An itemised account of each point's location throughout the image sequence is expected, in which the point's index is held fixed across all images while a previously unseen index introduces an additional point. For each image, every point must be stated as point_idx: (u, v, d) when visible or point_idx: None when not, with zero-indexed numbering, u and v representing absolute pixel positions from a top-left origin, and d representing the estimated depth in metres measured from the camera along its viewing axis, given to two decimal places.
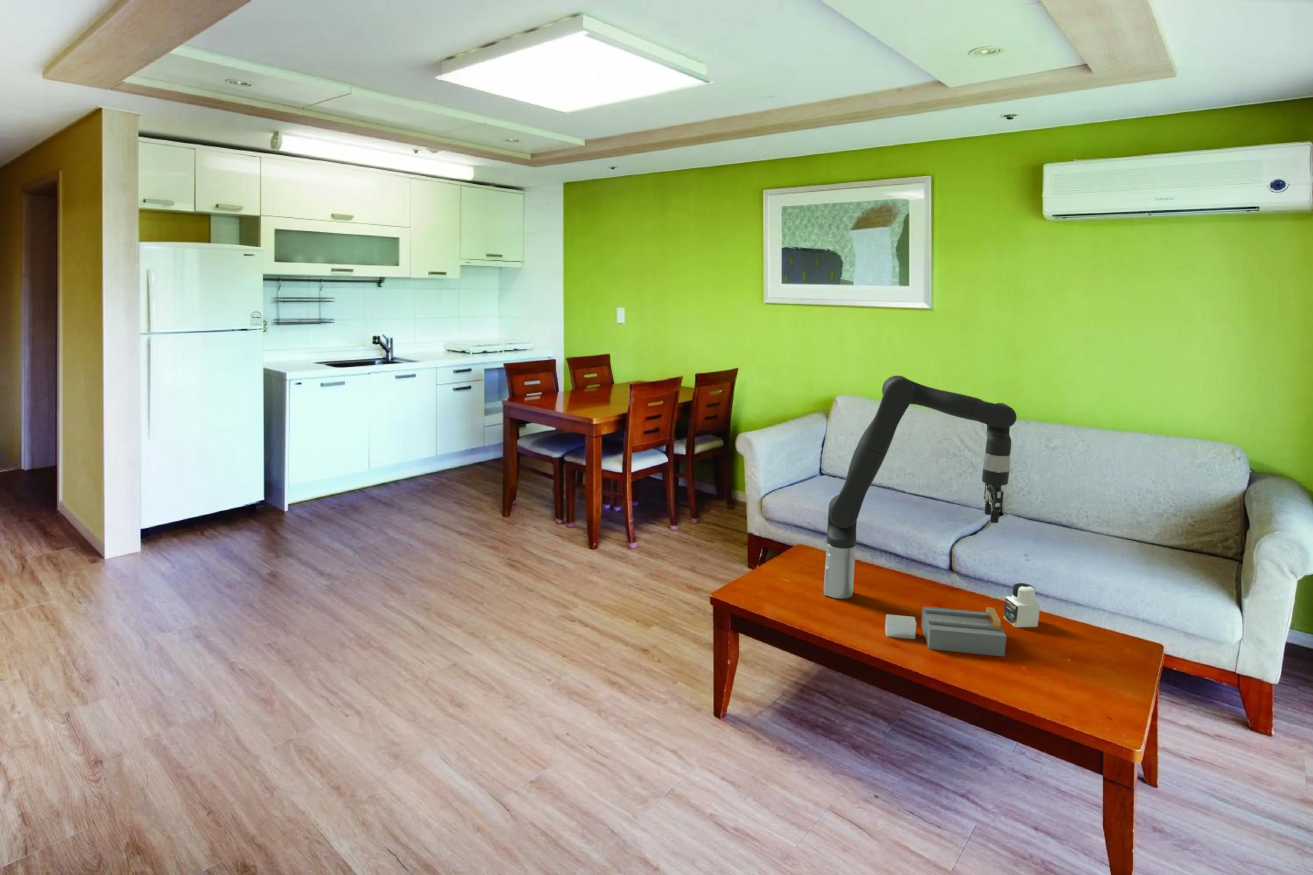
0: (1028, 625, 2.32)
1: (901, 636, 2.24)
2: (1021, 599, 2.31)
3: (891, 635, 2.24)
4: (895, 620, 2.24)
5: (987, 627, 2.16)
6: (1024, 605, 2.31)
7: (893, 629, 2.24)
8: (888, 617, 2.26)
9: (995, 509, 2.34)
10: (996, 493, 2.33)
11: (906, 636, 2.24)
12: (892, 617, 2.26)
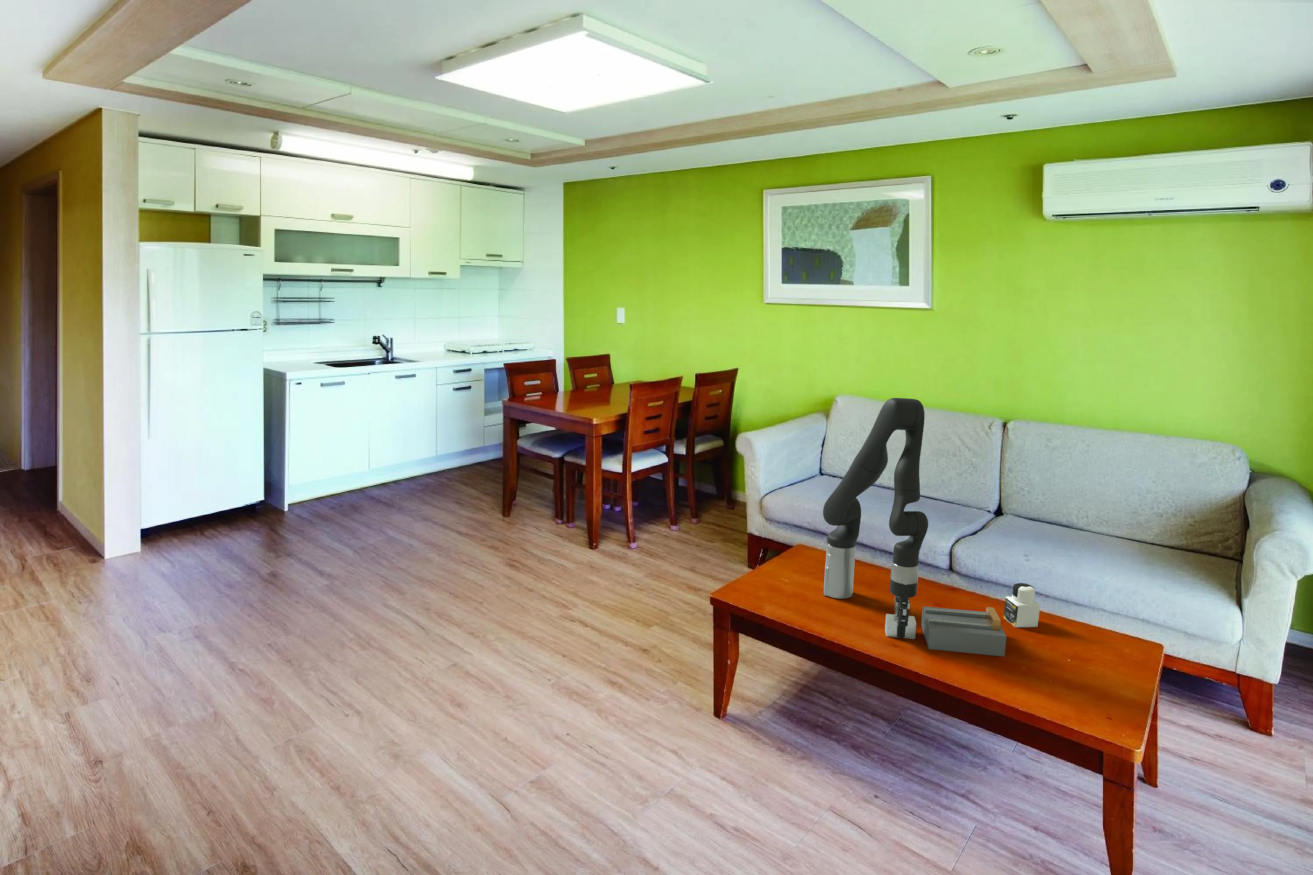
0: (1028, 625, 2.32)
1: None
2: (1021, 599, 2.31)
3: (891, 635, 2.24)
4: (895, 619, 2.24)
5: (987, 627, 2.16)
6: (1024, 605, 2.31)
7: (893, 629, 2.24)
8: (888, 617, 2.26)
9: (900, 624, 2.20)
10: (901, 611, 2.18)
11: (906, 636, 2.24)
12: (892, 617, 2.26)
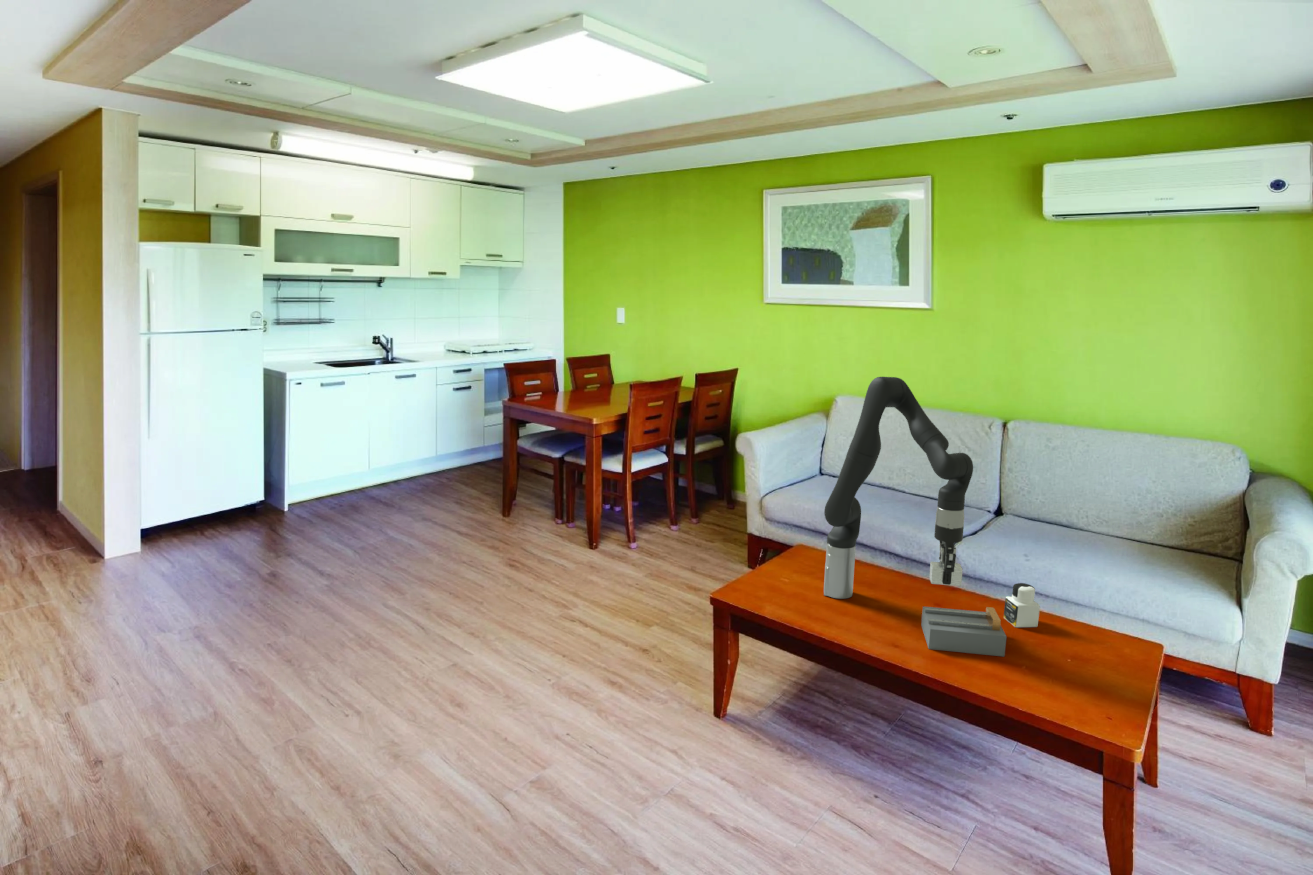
0: (1028, 625, 2.32)
1: None
2: (1021, 599, 2.31)
3: (936, 582, 2.18)
4: (940, 566, 2.18)
5: (987, 627, 2.16)
6: (1024, 605, 2.31)
7: (938, 576, 2.18)
8: (933, 564, 2.20)
9: (946, 570, 2.14)
10: (948, 556, 2.12)
11: (952, 583, 2.18)
12: (937, 564, 2.20)
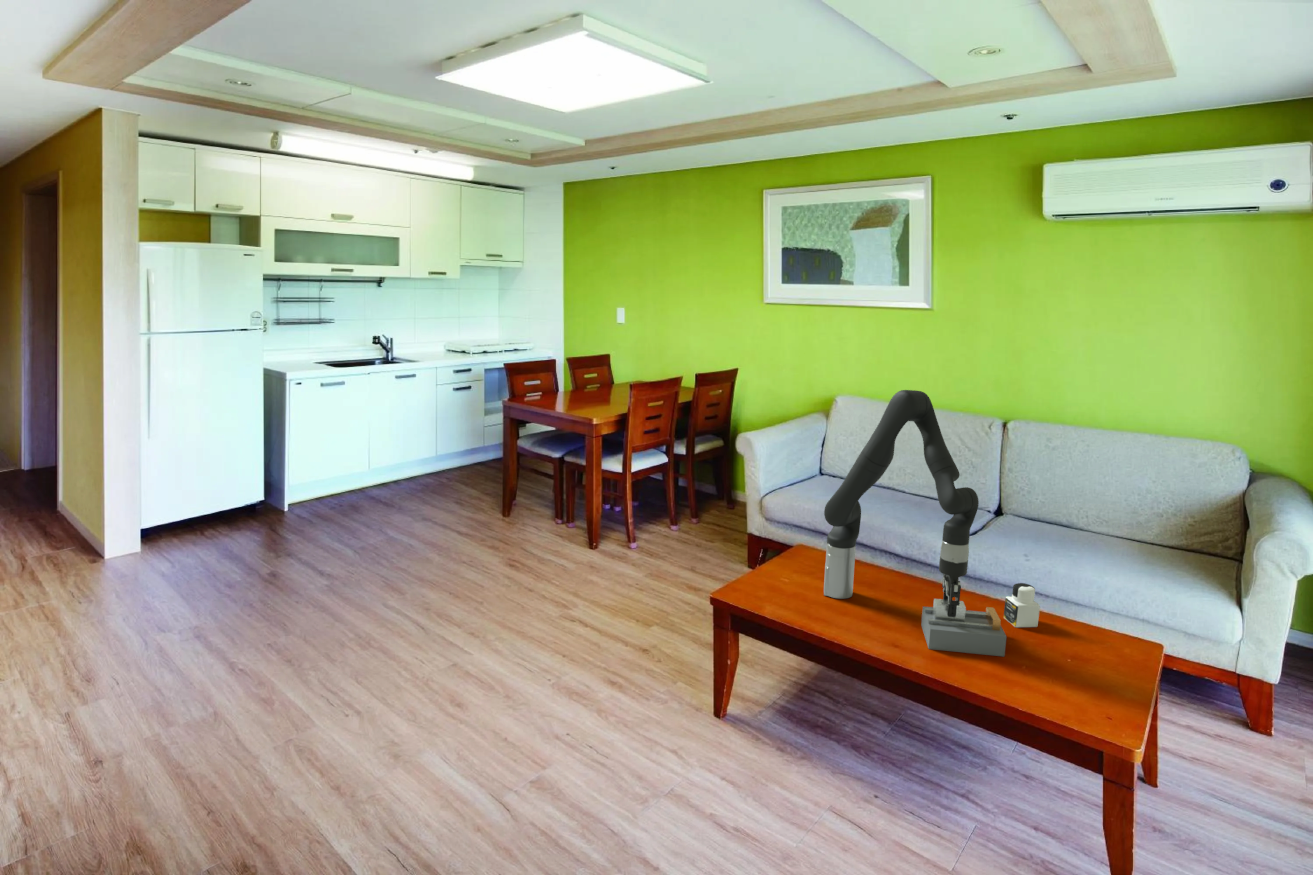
0: (1028, 625, 2.32)
1: (950, 620, 2.20)
2: (1021, 599, 2.31)
3: (940, 619, 2.21)
4: (944, 604, 2.20)
5: (987, 627, 2.16)
6: (1024, 605, 2.31)
7: (942, 614, 2.20)
8: (936, 601, 2.22)
9: (952, 603, 2.15)
10: (953, 587, 2.14)
11: (955, 620, 2.20)
12: (941, 601, 2.22)
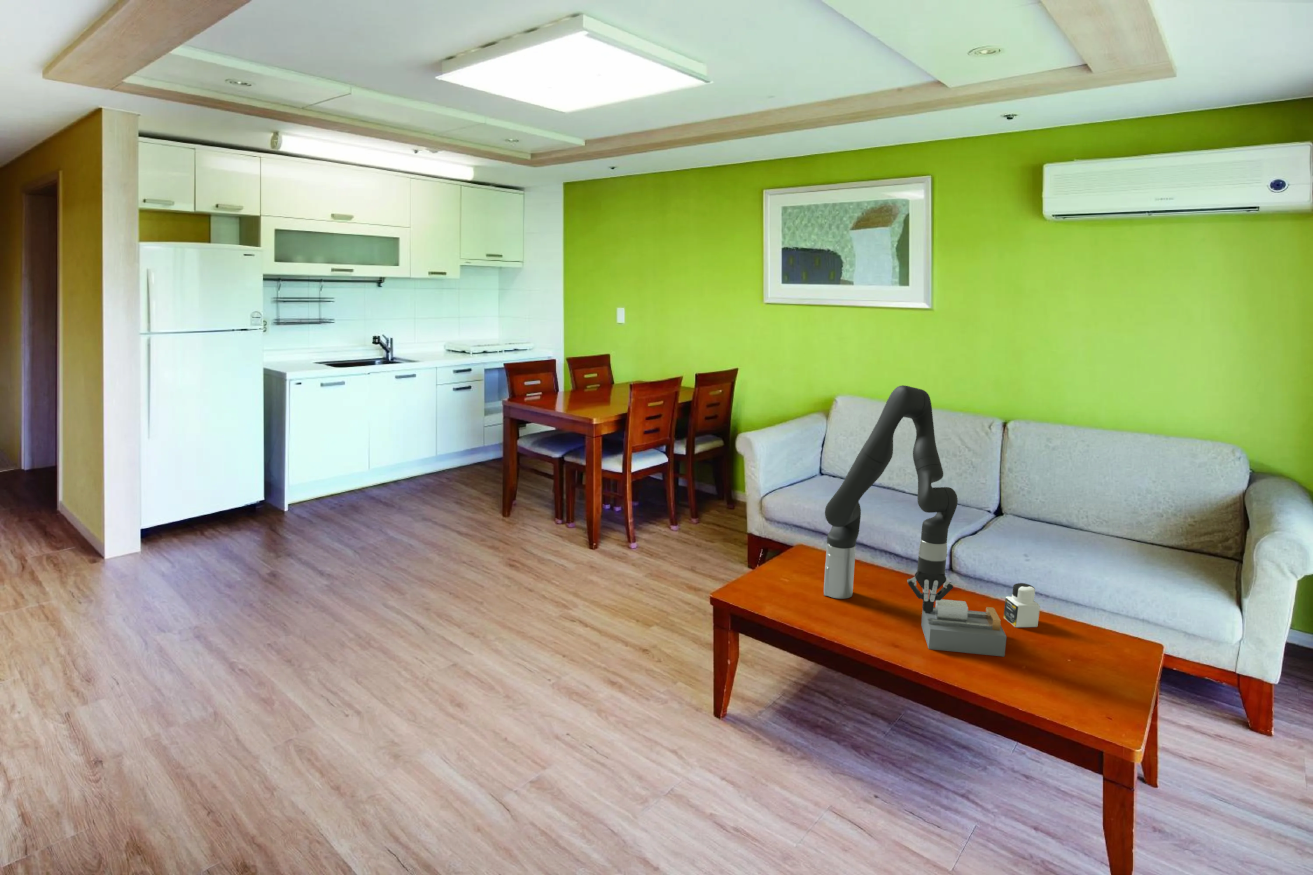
0: (1028, 625, 2.32)
1: None
2: (1021, 599, 2.31)
3: None
4: (946, 604, 2.20)
5: (987, 627, 2.16)
6: (1024, 605, 2.31)
7: (944, 614, 2.20)
8: (938, 601, 2.22)
9: None
10: (907, 581, 2.23)
11: (957, 621, 2.20)
12: (943, 601, 2.22)
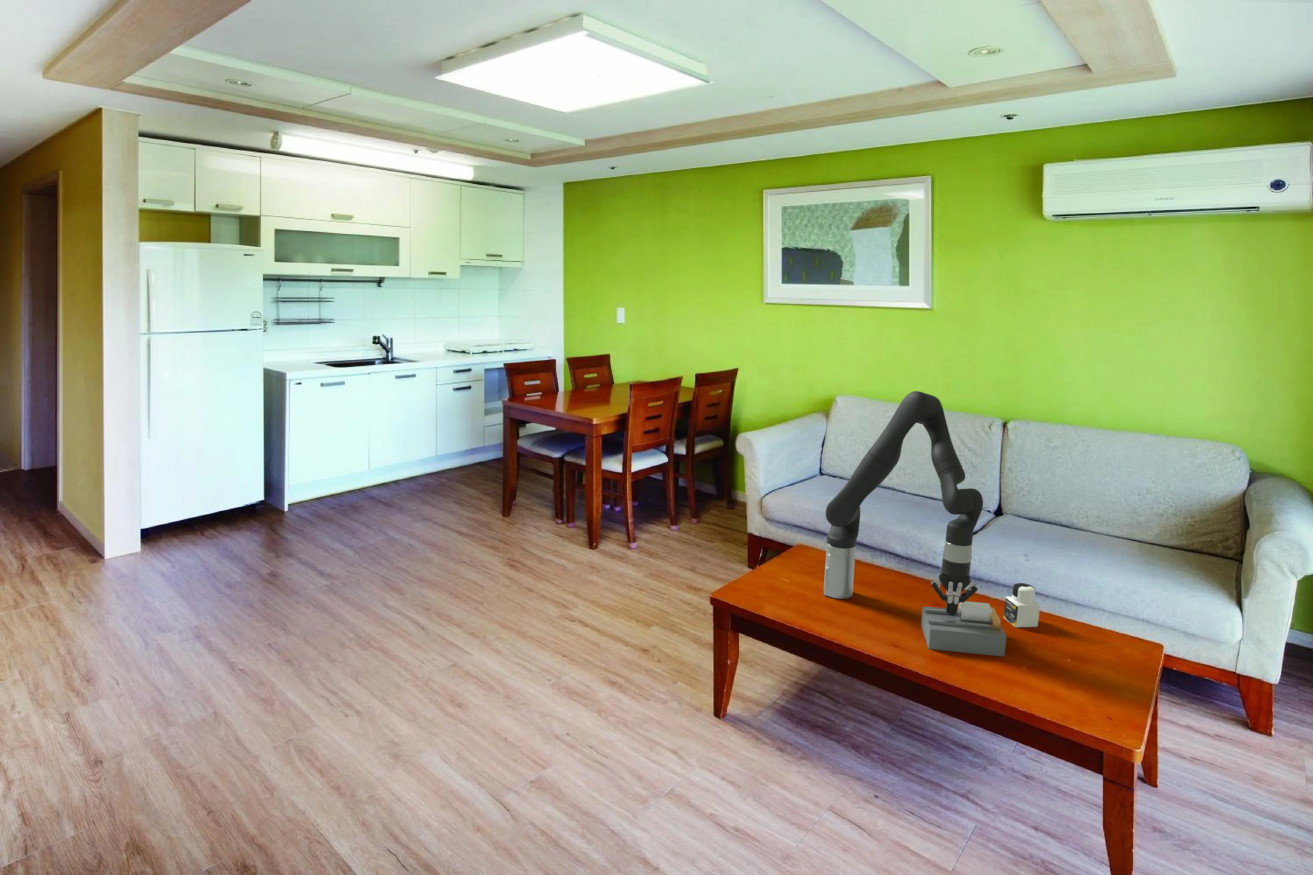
0: (1028, 625, 2.32)
1: None
2: (1021, 599, 2.31)
3: None
4: (970, 606, 2.19)
5: (987, 627, 2.16)
6: (1024, 605, 2.31)
7: (968, 616, 2.19)
8: (962, 604, 2.21)
9: None
10: (931, 583, 2.22)
11: (981, 623, 2.19)
12: (966, 604, 2.21)
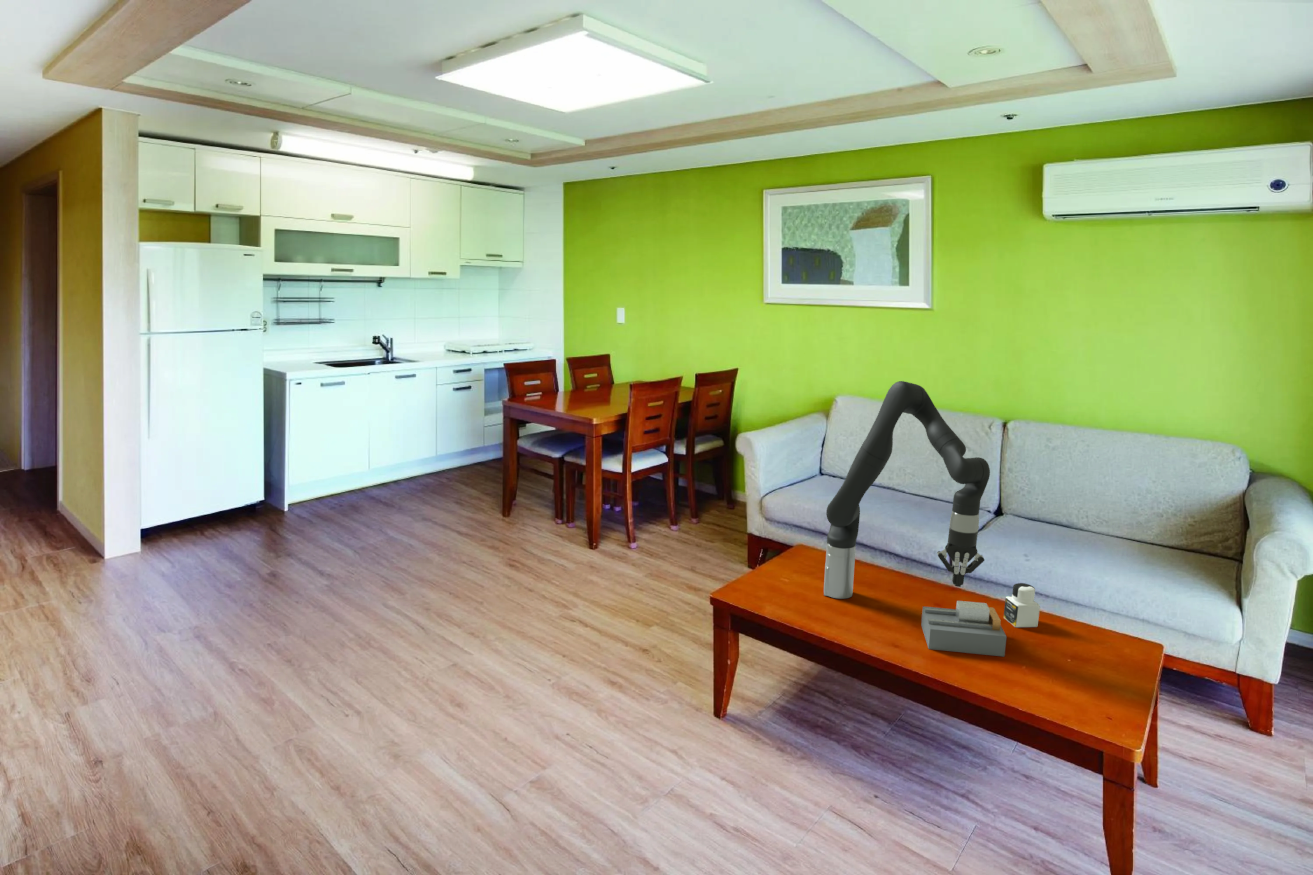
0: (1028, 625, 2.32)
1: None
2: (1021, 599, 2.31)
3: None
4: (967, 606, 2.19)
5: (987, 627, 2.16)
6: (1024, 605, 2.31)
7: (965, 616, 2.19)
8: (959, 603, 2.21)
9: None
10: None
11: (979, 623, 2.19)
12: (964, 603, 2.21)
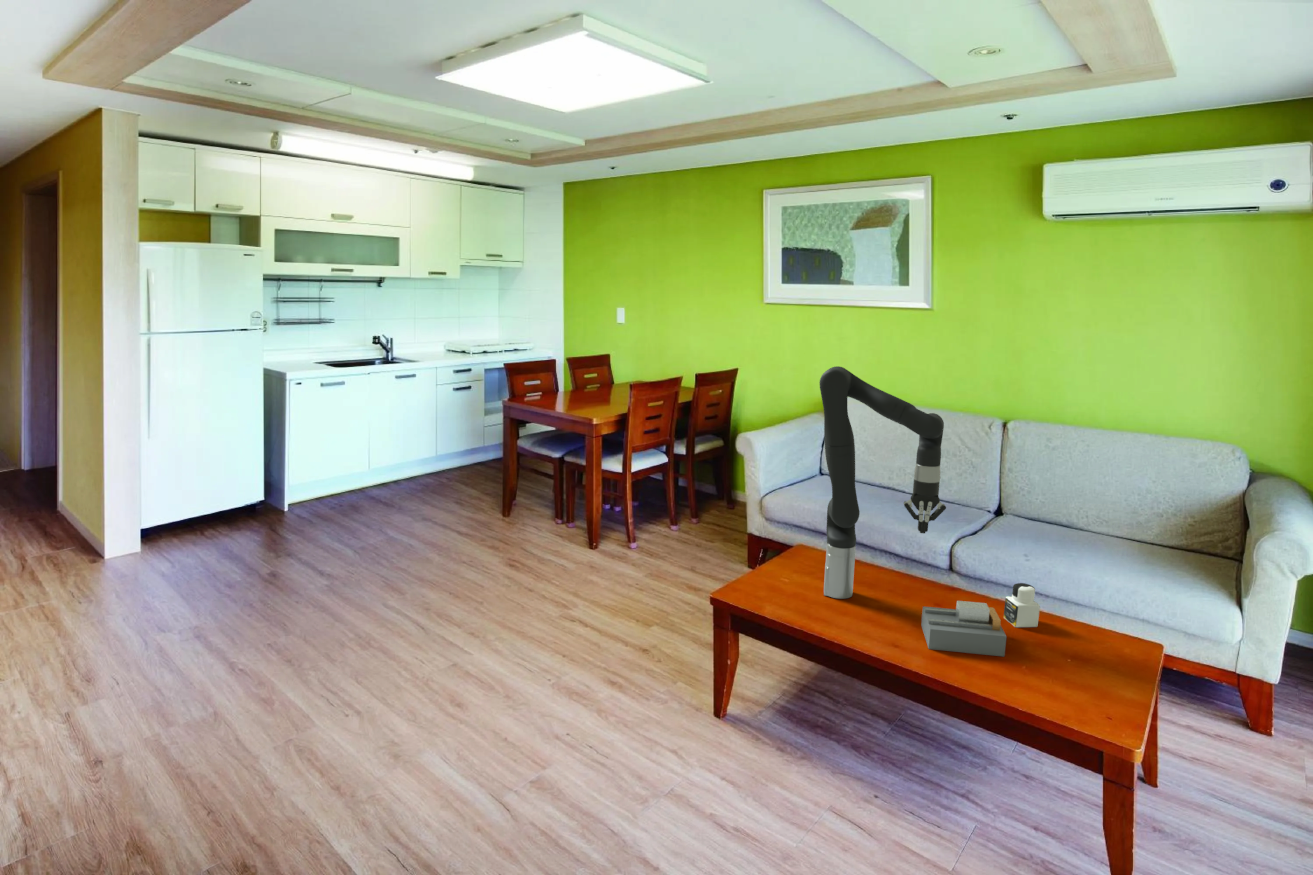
0: (1028, 625, 2.32)
1: None
2: (1021, 599, 2.31)
3: None
4: (967, 606, 2.19)
5: (987, 627, 2.16)
6: (1024, 605, 2.31)
7: (965, 616, 2.19)
8: (959, 603, 2.21)
9: None
10: None
11: (979, 623, 2.19)
12: (964, 603, 2.21)
